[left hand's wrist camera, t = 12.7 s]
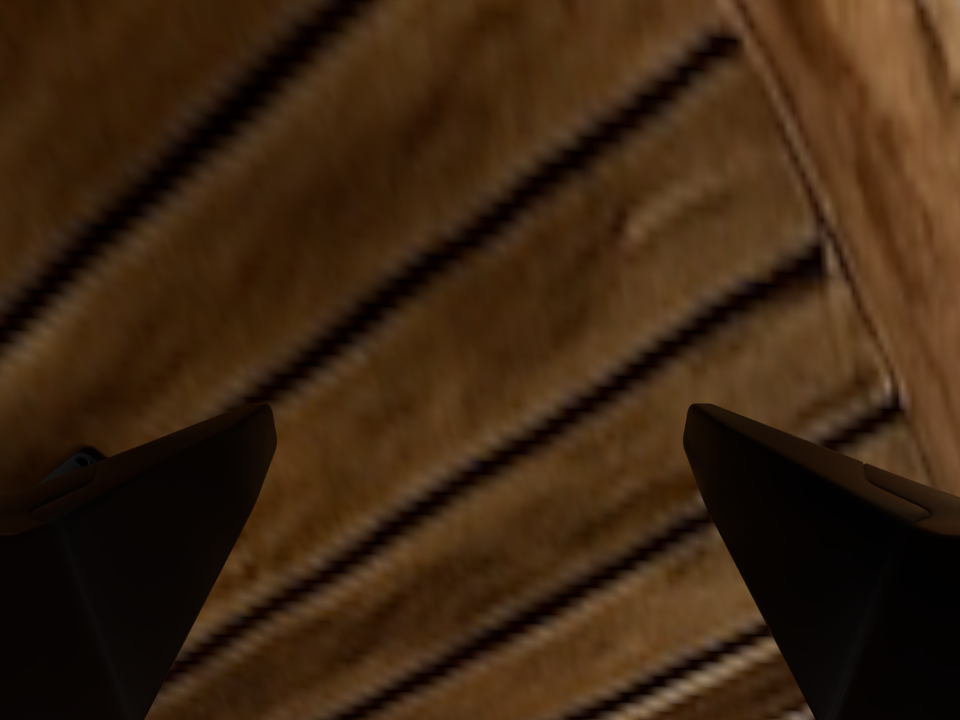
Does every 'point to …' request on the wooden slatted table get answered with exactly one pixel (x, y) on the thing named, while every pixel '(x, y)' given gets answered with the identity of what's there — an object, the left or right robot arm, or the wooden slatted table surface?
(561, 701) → the wooden slatted table surface
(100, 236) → the wooden slatted table surface
